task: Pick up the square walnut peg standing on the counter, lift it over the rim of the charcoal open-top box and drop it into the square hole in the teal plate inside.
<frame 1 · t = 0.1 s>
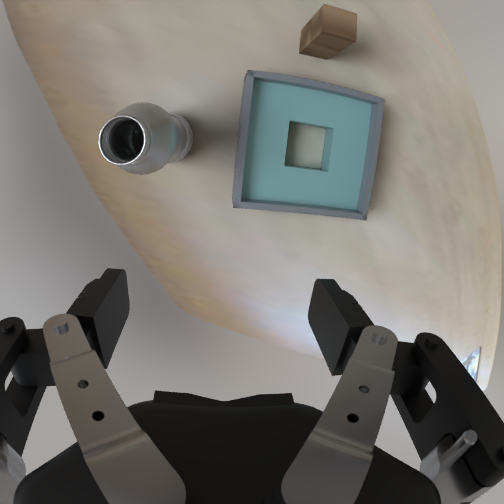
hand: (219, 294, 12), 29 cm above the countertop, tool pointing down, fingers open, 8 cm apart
peg: (313, 44, 32), on the countertop
box: (303, 145, 38), on the countertop
plastic bottle: (170, 137, 36), on the countertop
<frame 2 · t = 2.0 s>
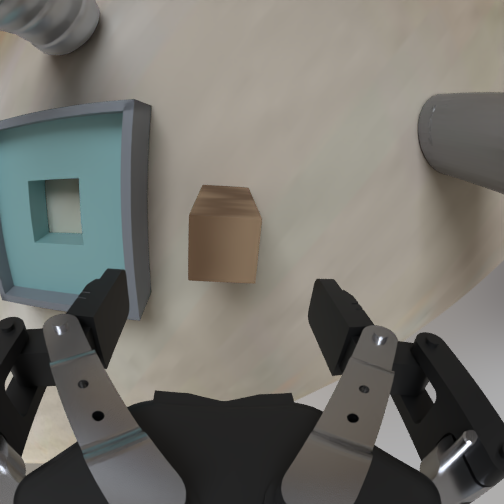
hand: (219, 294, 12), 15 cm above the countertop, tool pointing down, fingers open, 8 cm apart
peg: (223, 208, 26), on the countertop
box: (68, 204, 24), on the countertop
plastic bottle: (78, 29, 17), on the countertop
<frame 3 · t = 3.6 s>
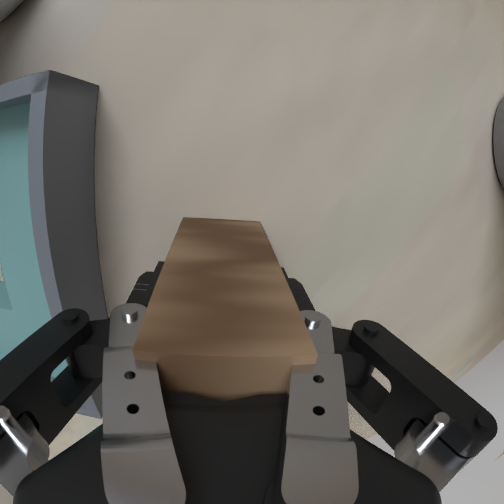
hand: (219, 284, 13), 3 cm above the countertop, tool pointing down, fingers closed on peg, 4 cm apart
peg: (219, 255, 16), on the countertop, touching gripper
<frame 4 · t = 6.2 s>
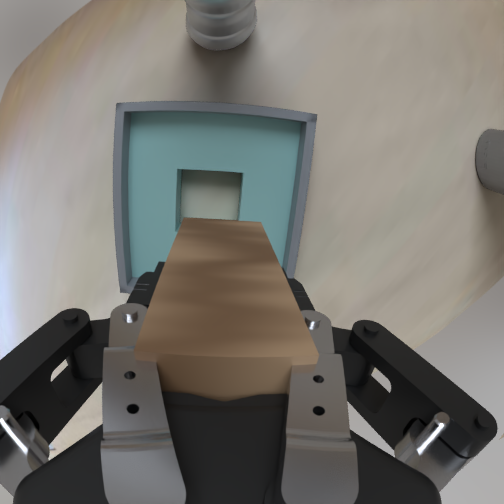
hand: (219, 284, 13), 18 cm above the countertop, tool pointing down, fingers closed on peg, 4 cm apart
peg: (220, 255, 16), point 15 cm above the countertop, touching gripper
box: (209, 196, 29), on the countertop
plastic bottle: (221, 28, 22), on the countertop
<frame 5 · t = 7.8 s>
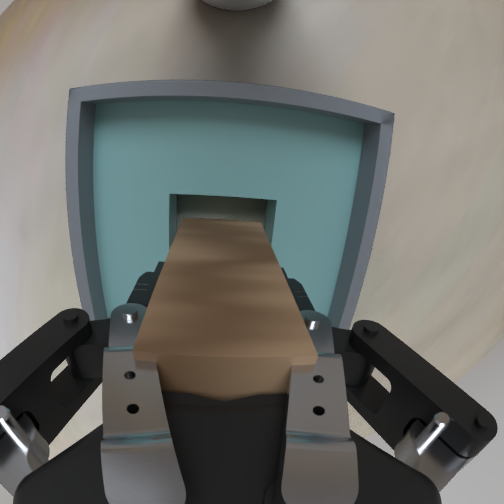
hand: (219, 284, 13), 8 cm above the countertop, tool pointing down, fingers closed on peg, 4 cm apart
peg: (219, 255, 16), point 4 cm above the countertop, touching gripper
box: (220, 230, 20), on the countertop
when the fingers open (4 cm above the countertop, at t = 8.8 s): peg stays where it is, resting in box.
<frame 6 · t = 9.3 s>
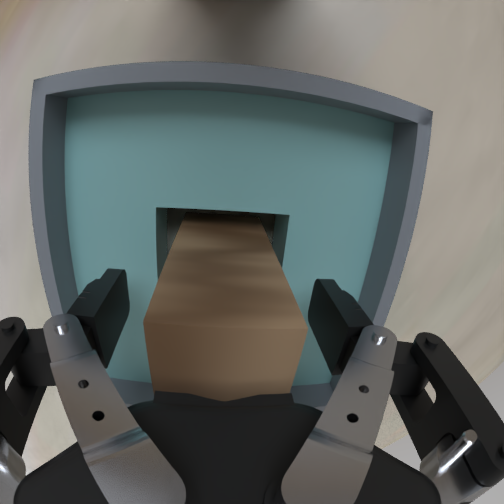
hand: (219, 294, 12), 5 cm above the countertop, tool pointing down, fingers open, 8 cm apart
peg: (219, 248, 17), resting in box
box: (219, 248, 17), on the countertop
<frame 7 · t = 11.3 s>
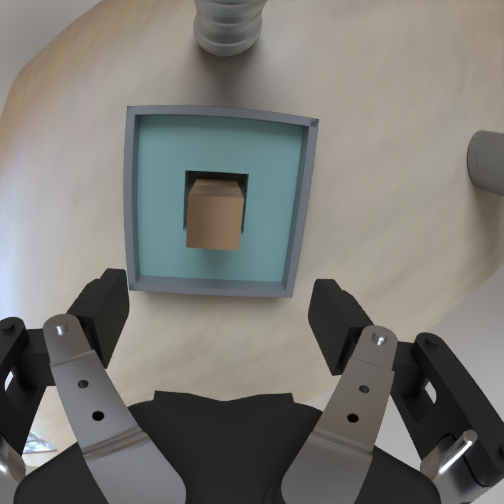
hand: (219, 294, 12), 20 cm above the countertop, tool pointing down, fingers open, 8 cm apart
peg: (215, 196, 30), resting in box
box: (215, 196, 30), on the countertop
plastic bottle: (226, 34, 24), on the countertop
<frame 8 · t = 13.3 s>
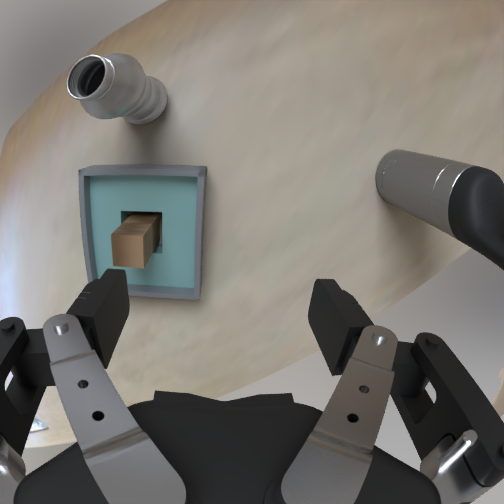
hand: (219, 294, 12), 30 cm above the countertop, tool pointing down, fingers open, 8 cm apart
peg: (146, 225, 41), resting in box
box: (146, 225, 41), on the countertop
plastic bottle: (148, 102, 34), on the countertop
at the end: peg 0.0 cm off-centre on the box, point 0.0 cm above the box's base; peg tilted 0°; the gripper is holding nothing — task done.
